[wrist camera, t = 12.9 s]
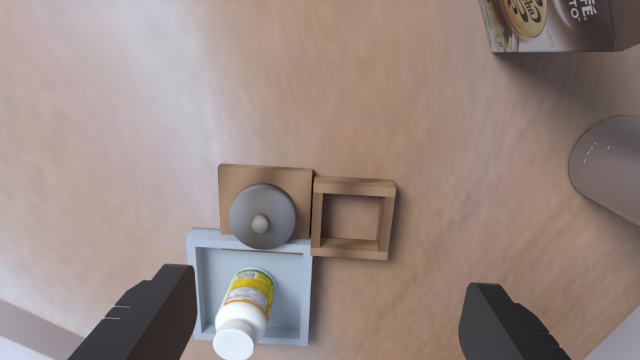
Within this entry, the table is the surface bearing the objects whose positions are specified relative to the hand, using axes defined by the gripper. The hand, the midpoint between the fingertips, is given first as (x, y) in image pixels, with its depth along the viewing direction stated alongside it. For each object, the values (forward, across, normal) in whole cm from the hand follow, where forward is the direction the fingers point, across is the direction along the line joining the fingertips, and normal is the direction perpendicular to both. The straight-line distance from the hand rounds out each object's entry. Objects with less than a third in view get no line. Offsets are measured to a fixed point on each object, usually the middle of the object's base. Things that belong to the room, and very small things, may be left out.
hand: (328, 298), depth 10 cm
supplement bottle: (+28, +8, +20) cm, 35 cm away
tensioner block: (+28, +2, +10) cm, 30 cm away
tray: (+28, +8, +20) cm, 35 cm away
